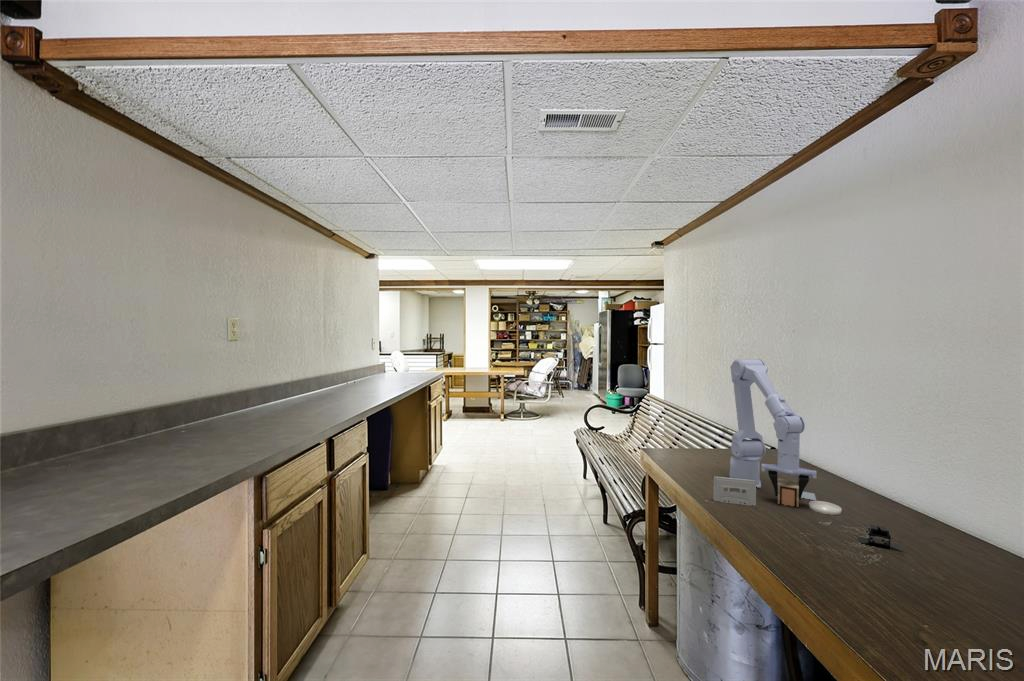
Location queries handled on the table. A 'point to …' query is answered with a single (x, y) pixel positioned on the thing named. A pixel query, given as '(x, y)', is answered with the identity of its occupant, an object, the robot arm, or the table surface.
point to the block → (788, 496)
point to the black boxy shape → (879, 543)
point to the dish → (825, 507)
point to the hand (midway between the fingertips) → (787, 497)
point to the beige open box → (792, 485)
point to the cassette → (733, 496)
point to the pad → (808, 496)
